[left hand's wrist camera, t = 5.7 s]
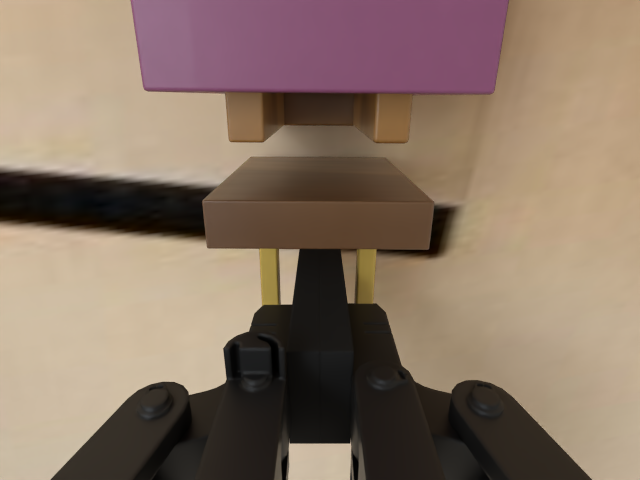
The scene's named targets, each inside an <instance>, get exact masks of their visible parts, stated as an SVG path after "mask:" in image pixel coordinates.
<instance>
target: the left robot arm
mask: <svg viewBox="0 0 640 480" xmlns="http://www.w3.org/2000/svg"><path fill="white" fill-rule="evenodd" d="M223 349H224V359H225V368H226V377H227V380H226V383H225V384H223V385H221V386H219V387H217V388H214V389H211V390H208V391H205V392H201V393H196V394H192V395H189V394H188V391H187V390H186V389H185V387H184V386H183V385H180V384H178V383H175V382H160V383H155V384H151V385H149V386H146V387H144V388H142V389H140V390H138V391H137V392H136V393H134V394H133V395H132V396H131V397H129V398H128V399H127V400H126V401H125V402H124V403H123V404H122V405H121V406H120V407H119V409H118V410H117V411H116V412H115V413H114V414H113V415H112V416H111V417H110V418H109V419H108V420H107V421H106V422H105V423H104V424H103V425H102V426H101V427H100V428H99V429H98V431H97V432H96V433H95V434H94V435H93V436H92V437H91V438H90V439H89V440H88V441H87V442H86V443H85V444H84V445H83V446H82V447H81V448H80V449H79V450H78V451H77V453H76V454H75V455H74V456H73V457H72V458H71V459H70V460H69V461H68V462H67V463H66V464H65V465H64V466H63V467H62V468H61V469H60V470H59V471H58V472H57V473H56V475H55V476H54V477H53V478H52V479H51V480H288V472H289V438H290V443H350V440H351V447H352V448H351V473H350V480H592V479H591V478H590V477H589V476H588V475H587V474H586V473H585V472H584V471H583V470H582V469H581V468H580V467H579V466H578V465H577V464H576V463H575V462H574V460H573V459H572V458H571V457H570V456H569V455H568V454H567V453H566V452H565V451H564V450H563V449H562V448H561V447H560V446H559V445H558V444H557V443H556V442H555V441H554V440H553V439H552V438H551V437H550V436H549V434H548V433H547V432H546V431H545V430H544V429H543V428H542V427H541V426H540V425H539V424H538V423H537V422H536V421H535V420H534V419H533V418H532V417H531V416H530V415H529V414H528V413H527V412H526V411H525V409H524V408H523V407H522V406H521V405H520V404H519V403H518V402H517V401H516V400H515V399H514V398H513V397H512V396H511V395H509V394H508V393H507V392H506V391H504V390H503V389H502V388H499V387H497V386H495V385H493V384H491V383H488V382H483V381H479V380H468V381H464V382H461V383H459V384H457V385H456V386H455V387H454V389H453V390H452V394H450V393H446V392H442V391H438V390H433V389H430V388H427V387H424V386H422V385H420V384H418V383H416V382H415V381H414V380H413V378H412V376H411V374H410V373H409V371H408V370H406V369H405V368H404V367H403V366H402V365H401V362H400V359H399V355H398V352H397V349H396V345H395V342H394V339H393V335H392V334H391V329H390V325H389V322H388V319H387V315H386V312H385V311H384V310H383V309H381V308H380V307H379V306H378V305H377V304H348V303H347V296H346V288H345V281H344V273H343V265H342V258H341V250H340V249H300V251H299V258H298V266H297V273H296V281H295V289H294V296H293V304H292V305H263V306H262V307H261V308H260V309H259V310H258V311H257V312H256V313H255V314H254V317H253V320H252V324H251V327H250V330H249V332H246V333H243V334H240V335H238V336H236V337H234V338H233V339H231V340H230V341H228V343H227V344H226V346H225V347H224V348H223Z"/></svg>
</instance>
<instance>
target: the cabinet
mask: <svg viewBox="0 0 640 480" xmlns="http://www.w3.org/2000/svg"><path fill="white" fill-rule="evenodd" d="M508 2H509V0H131V6H132V13H133V19H134V26H135V33H136V40H137V47H138V54H139V61H140V68H141V74H142V81H143V87H144V90H146V91H155V92H190V93H224V94H225V92H255V93H369V94H413V95H471V94H492V93H493V92H494V90H495V84H496V78H497V71H498V65H499V59H500V52H501V46H502V40H503V34H504V27H505V21H506V15H507V8H508Z"/></svg>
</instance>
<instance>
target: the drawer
mask: <svg viewBox="0 0 640 480" xmlns="http://www.w3.org/2000/svg"><path fill="white" fill-rule="evenodd" d="M225 96H226V109H227V123H228V136H229V141H230V142H264V141H265V140H267V139H268V138H269V137H270V136H271V135H273V134H274V133H275V132H276V131H277V130H279V129H280V128H281V127H282V126H283V125H336V126H355V127H356V128H358V129H359V130H360V131H361V132H362V133H364V134H365V135H366V136H367V137H369V138H370V139H371V140H372V141H373V142H375V143H406V142H408V140H409V130H410V119H411V107H412V96H413V94H369V93H255V92H225ZM202 204H203V214H204V223H205V233H206V242H207V248H241V249H259V253H260V272H261V291H262V306H263V305H281V300H280V270H279V249H357V260H356V281H355V303H354V304H373V295H374V280H375V265H376V249H414V250H427V249H429V244H430V236H431V227H432V219H433V210H434V202H433V201H432V200H431V199H430V198H429V197H428V196H427V195H426V194H425V193H424V192H422V191H421V190H420V189H419V188H418V187H417V186H416V185H415V184H414V183H413V182H412V181H410V180H409V179H408V178H407V177H406V176H405V175H404V174H403V173H402V172H401V171H399V170H398V169H397V168H396V167H395V166H394V165H393V164H392V163H391V162H390V161H389V160H387V159H386V158H331V157H250V158H249V159H248V160H247V161H246V162H245V163H244V164H242V165H241V166H240V167H239V168H238V169H237V170H236V171H235V172H234V173H233V174H231V175H230V176H229V177H228V178H227V179H226V180H225V181H224V182H223V183H221V184H220V185H219V186H218V187H217V188H216V189H215V190H214V191H213V192H211V193H210V194H209V195H208V196H207V197H206V198H205V199H204V200H203V201H202Z"/></svg>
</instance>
